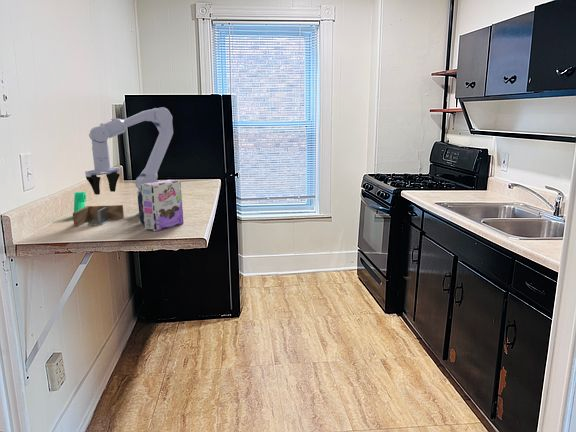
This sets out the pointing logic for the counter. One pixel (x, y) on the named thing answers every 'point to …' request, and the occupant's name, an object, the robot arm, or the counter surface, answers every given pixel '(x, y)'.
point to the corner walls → (91, 213)
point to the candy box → (162, 204)
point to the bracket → (100, 216)
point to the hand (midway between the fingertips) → (105, 192)
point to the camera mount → (79, 200)
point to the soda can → (140, 208)
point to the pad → (98, 224)
